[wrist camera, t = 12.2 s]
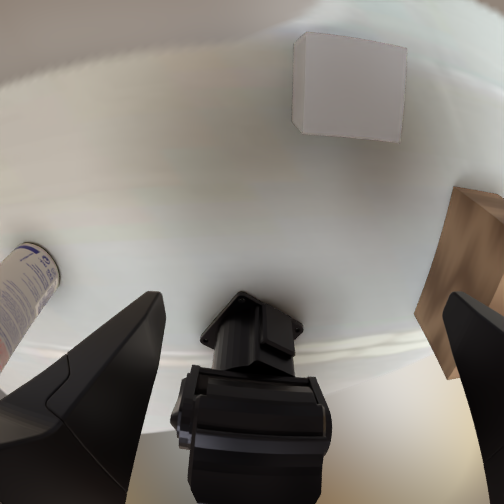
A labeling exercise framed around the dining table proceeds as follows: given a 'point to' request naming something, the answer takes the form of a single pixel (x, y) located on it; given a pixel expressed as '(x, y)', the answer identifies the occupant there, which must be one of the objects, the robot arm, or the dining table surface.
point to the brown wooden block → (464, 266)
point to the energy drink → (23, 293)
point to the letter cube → (348, 87)
